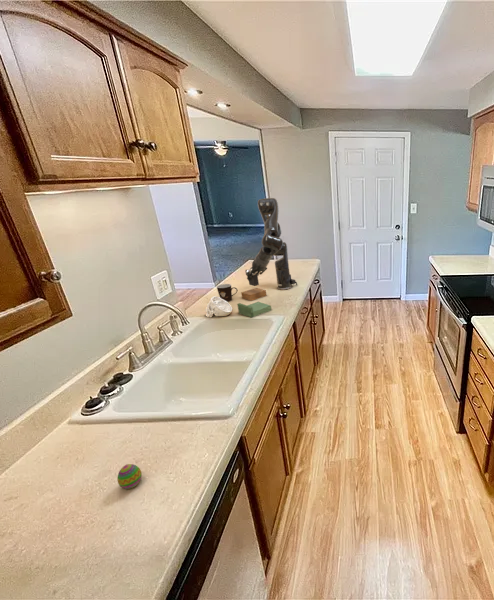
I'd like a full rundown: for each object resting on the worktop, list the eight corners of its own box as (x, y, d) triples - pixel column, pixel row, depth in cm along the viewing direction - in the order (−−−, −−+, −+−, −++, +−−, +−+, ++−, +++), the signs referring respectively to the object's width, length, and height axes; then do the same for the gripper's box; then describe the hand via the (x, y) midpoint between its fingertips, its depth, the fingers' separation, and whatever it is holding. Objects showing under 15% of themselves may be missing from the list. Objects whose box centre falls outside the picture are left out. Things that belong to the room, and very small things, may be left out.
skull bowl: (208, 309, 197) (215, 292, 193) (229, 321, 199) (237, 305, 195) (197, 315, 187) (205, 298, 183) (220, 328, 189) (228, 311, 185)
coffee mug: (216, 301, 213) (213, 287, 209) (226, 297, 220) (224, 283, 217) (229, 304, 209) (227, 289, 205) (240, 299, 216) (237, 285, 213)
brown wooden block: (257, 293, 229) (256, 287, 227) (266, 295, 223) (265, 290, 222) (242, 298, 219) (241, 292, 218) (251, 300, 214) (250, 295, 213)
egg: (138, 489, 84) (131, 472, 82) (116, 493, 83) (109, 475, 81) (146, 474, 89) (141, 457, 87) (126, 477, 88) (120, 460, 86)
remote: (253, 283, 197) (251, 268, 194) (258, 284, 194) (256, 270, 191) (249, 284, 195) (247, 270, 192) (254, 286, 192) (252, 271, 189)
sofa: (258, 306, 206) (257, 297, 203) (271, 310, 199) (270, 300, 197) (238, 313, 195) (237, 303, 193) (251, 317, 188) (249, 308, 186)
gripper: (268, 253, 190) (257, 271, 200) (246, 258, 179) (237, 276, 189) (275, 264, 189) (264, 281, 199) (254, 269, 178) (244, 286, 188)
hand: (251, 278), depth 194 cm, fingers closed on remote, 3 cm apart
